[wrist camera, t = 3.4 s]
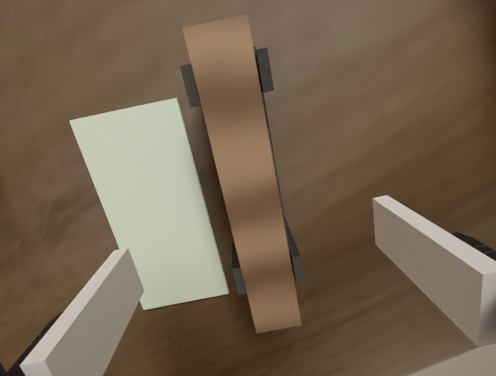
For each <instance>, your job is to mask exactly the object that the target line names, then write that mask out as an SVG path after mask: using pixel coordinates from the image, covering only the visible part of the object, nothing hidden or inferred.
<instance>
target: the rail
mask: <svg viewBox="0 0 496 376" xmlns="http://www.w3.org/2000/svg"><path fill="white" fill-rule="evenodd" d="M183 32H184V36H185V40H186V44H187V49H188V53H189V57H190V61H191V65H192V69H193V73H194V77H195V82H196V86H197V90H198V94H199V98H200V102H201V106H202V110H203V115H204V119H205V123H206V127H207V131H208V135H209V139H210V143H211V148H212V152H213V156H214V160H215V164H216V168H217V172H218V176H219V181H220V185H221V189H222V193H223V197H224V201H225V205H226V209H227V214H228V218H229V222H230V226H231V230H232V234H233V238H234V242H235V247H236V251H237V255H238V259H239V263H240V267H241V271H242V275H243V280H244V284H245V288H246V292H247V296H248V300H249V304H250V308H251V313H252V317H253V321H254V325H255V329H256V333H262V332H268V331H273V330H278V329H284V328H289V327H294V326H300V325H302V324H301V318H300V312H299V307H298V301H297V295H296V289H295V284H294V278H293V272H292V267H291V261H290V255H289V249H288V244H287V238H286V232H285V227H284V221H283V215H282V209H281V204H280V198H279V192H278V186H277V181H276V175H275V169H274V164H273V158H272V152H271V146H270V141H269V135H268V129H267V124H266V118H265V112H264V106H263V101H262V95H261V89H260V83H259V78H258V72H257V66H256V61H255V55H254V49H253V43H252V38H251V32H250V26H249V21H248V15H247V14H245V15H240V16H235V17H231V18H226V19H222V20H217V21H213V22H208V23H203V24H199V25H194V26H190V27H185V28H183Z"/></svg>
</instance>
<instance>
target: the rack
mask: <svg viewBox="0 0 496 376" xmlns="http://www.w3.org/2000/svg"><path fill="white" fill-rule="evenodd" d="M253 49H254V55H255V61H256V66H257V72H258V78H259V83H260V89H261V95H262V101H263V106H264V112H265V118H266V124H267V129H268V135H269V141H270V146H271V152H272V158H273V164H274V169H275V175H276V181H277V186H278V192H279V198H280V204H281V209H282V215H283V221H284V227H285V232H286V238H287V244H288V249H289V255H290V261H291V267H292V272H293V274H294V277H295V280H296V284H299V283H305V281H304V275H303V269H302V262H301V256H300V254H299V251H298V249H297V246H296V244H295V241H294V239H293V236H292V234H291V231H290V229H289V226H288V224H287V222H286V219H285V216H284V210H283V204H282V199H281V193H280V187H279V181H278V175H277V170H276V164H275V158H274V152H273V146H272V141H271V135H270V129H269V123H268V117H267V112H266V106H265V100H264V94H263V93H266V92H269V91H272V90H274V88H273V82H272V76H271V69H270V63H269V57H268V51H267V48H262V49H258V50H256V48H255V47H253ZM180 68H181V72H182V76H183V80H184V84H185V88H186V92H187V95H188V99H189V103H190V107H198V106H201V102H200V98H199V94H198V90H197V86H196V82H195V77H194V73H193V69H192V65H191V64H188V65H183V66H180ZM232 272H233V276H234V280H235V284H236V288H237V292H238V295H242V294H246V288H245V284H244V280H243V275H242V271H241V267H240V263H239V259H238V255H237V251H236V247H235V242H234V238H233V250H232Z"/></svg>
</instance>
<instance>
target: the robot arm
mask: <svg viewBox="0 0 496 376" xmlns="http://www.w3.org/2000/svg"><path fill="white" fill-rule="evenodd" d="M373 213H374V229H375V244H376V245H377V246H378V247H379V248H380V249H381V250H382V251H383V252H384V253H385V254H386V255H387V256H388V257H389V258H390V259H391V260H392V261H393V262H394V263H395V264H396V265H397V266H398V267H399V268H400V269H401V270H402V271H403V272H404V273H405V274H406V275H407V276H408V277H409V278H410V279H411V280H412V282H413V283H414V284H415V285H416V286H417V287H418V288H419V289H420V290H421V291H422V292H423V293H424V294H425V295H426V296H427V297H428V298H429V299H430V300H431V301H432V302H433V303H434V304H435V305H436V306H437V307H438V308H439V309H440V310H441V311H442V312H443V313H444V314H445V315H446V316H447V317H448V318H449V319H450V320H451V321H452V322H453V323H454V324H455V325H456V326H457V327H458V328H459V329H460V330H461V331H462V332H463V333H464V334H465V335H466V336H467V337H468V338H469V339H470V340H471V341H472V342H473V343H474V344H475V345H476V346H477V347H480V346H485V345H490V344H494V343H496V252H495V251H494V250H493V249H492V248H490V247H488V246H484V244H483V243H481V242H479V241H477V240H476V239H474V238H472V237H469V236H466V235H463V234H460V233H457V232H456V233H451V234H450V233H448V232H447V231H445V230H443V229H442V228H440V227H438V226H437V225H435V224H434V223H432V222H430V221H429V220H427V219H425V218H424V217H422V216H420V215H419V214H417V213H415V212H414V211H412V210H410V209H409V208H407V207H405V206H404V205H402V204H401V203H399V202H397V201H396V200H394V199H392V198H391V197H389V196H387V195H386V196H381V197H376V198H373ZM143 292H144V288H143V286H142V283H141V280H140V278H139V275H138V272H137V270H136V267H135V264H134V262H133V259H132V257H131V254H130V251H129V249H128V248H124V249H119V250H115V251H113V253H112V254H111V255H110V256H109V257H108V259H107V260H106V261H105V262H104V264H103V265H102V266H101V267H100V268H99V270H98V271H97V272H96V273H95V274H94V276H93V277H92V278H91V279H90V281H89V282H88V283H87V284H86V285H85V287H84V288H83V289H82V290H81V291H80V293H79V294H78V295H77V296H76V298H75V299H74V300H73V301H72V302H71V304H70V305H69V306H68V307H67V308H66V310H65V311H64V312H61V313H60V314H59V315H58V316H56V317H55V318H54V319H53V320H51V321H50V322H49V323H48V324H47V326H46V327H45V328H44V329H43V330H42V331H41V333H40V335H38V336H37V337H36V339H35V340H34V341H33V342H32V344H31V345H30V346H29V347H28V348H27V349H26V350H25V351H24V353H23V354H22V355H21V356H20V357H19V359H18V360H17V361H16V362H15V363H14V364H13V366H12V367H11V368H10V369H9V370H8V371H7V372H6V371H5V369H4V368H3V366H2V364H1V363H0V376H103V374H104V372H105V370H106V368H107V366H108V364H109V362H110V360H111V358H112V356H113V354H114V352H115V350H116V348H117V346H118V344H119V341H120V339H121V337H122V335H123V333H124V331H125V329H126V327H127V325H128V323H129V321H130V319H131V317H132V315H133V313H134V311H135V309H136V307H137V304H138V302H139V300H140V298H141V296H142V294H143Z"/></svg>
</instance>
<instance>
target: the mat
mask: <svg viewBox="0 0 496 376" xmlns="http://www.w3.org/2000/svg"><path fill="white" fill-rule="evenodd" d="M69 122H70V124H71V127H72V129H73V132H74V134H75V137H76V139H77V142H78V144H79V147H80V150H81V152H82V155H83V157H84V160H85V162H86V165H87V167H88V170H89V172H90V175H91V178H92V180H93V183H94V185H95V188H96V190H97V193H98V195H99V198H100V200H101V203H102V206H103V208H104V211H105V213H106V216H107V218H108V221H109V223H110V226H111V228H112V231H113V234H114V236H115V239H116V241H117V244H118V246H119V249H124V248H128V249H129V251H130V254H131V257H132V259H133V262H134V264H135V267H136V270H137V272H138V275H139V278H140V280H141V283H142V286H143V288H144V292H143V294H142V296H141V298H140V302H141V305H142V307H143V310H146V309H151V308H157V307H162V306H167V305H172V304H178V303H183V302H188V301H193V300H198V299H204V298H209V297H214V296H219V295H225V294H229V289H228V285H227V281H226V278H225V274H224V270H223V266H222V263H221V259H220V255H219V251H218V248H217V244H216V240H215V236H214V232H213V229H212V225H211V221H210V217H209V214H208V210H207V206H206V202H205V199H204V195H203V191H202V187H201V184H200V180H199V176H198V172H197V169H196V165H195V161H194V157H193V154H192V150H191V146H190V142H189V138H188V135H187V131H186V127H185V123H184V120H183V116H182V112H181V108H180V105H179V101H178V98H174V99H169V100H164V101H159V102H155V103H150V104H145V105H141V106H136V107H131V108H126V109H122V110H117V111H112V112H108V113H103V114H98V115H93V116H89V117H84V118H79V119H74V120H70V121H69Z"/></svg>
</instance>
